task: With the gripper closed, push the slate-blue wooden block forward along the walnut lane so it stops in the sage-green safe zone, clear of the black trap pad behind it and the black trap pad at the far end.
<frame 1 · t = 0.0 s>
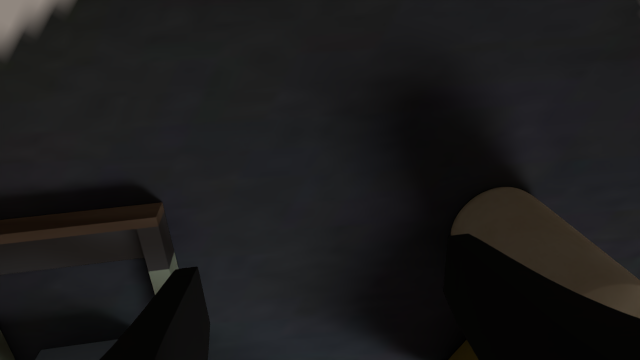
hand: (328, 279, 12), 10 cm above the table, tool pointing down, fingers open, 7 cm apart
candle: (492, 226, 25), on the table
flower pot: (489, 348, 30), on the table
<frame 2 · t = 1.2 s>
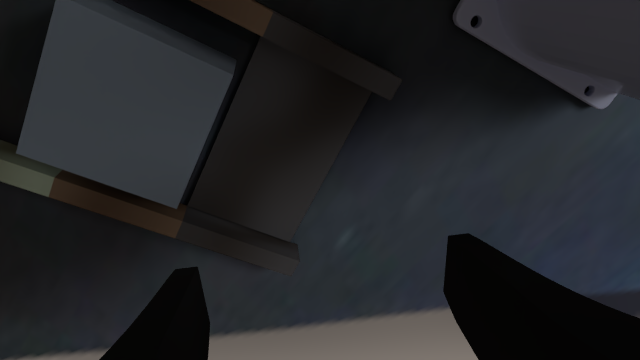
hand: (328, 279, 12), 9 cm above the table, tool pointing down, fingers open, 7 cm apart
block: (146, 91, 19), resting in trap lane
trap lane: (121, 83, 18), on the table
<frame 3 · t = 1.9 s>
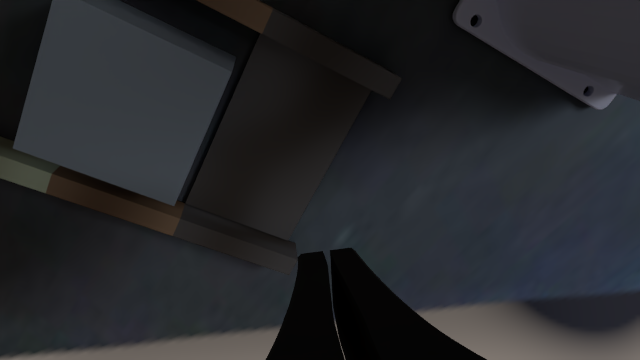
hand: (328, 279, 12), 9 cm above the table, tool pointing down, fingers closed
block: (144, 88, 19), resting in trap lane
trap lane: (119, 79, 18), on the table
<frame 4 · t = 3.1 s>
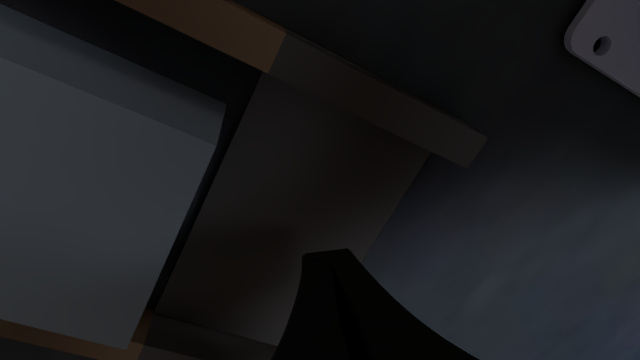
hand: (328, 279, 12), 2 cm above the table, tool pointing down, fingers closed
block: (85, 151, 12), resting in trap lane
trap lane: (42, 141, 12), on the table
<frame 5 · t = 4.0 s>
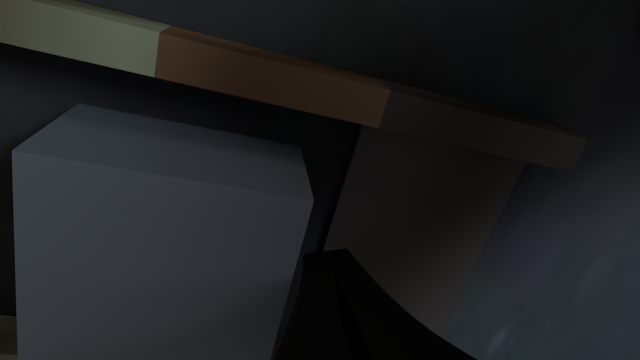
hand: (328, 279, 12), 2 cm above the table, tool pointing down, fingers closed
block: (182, 217, 13), resting in trap lane, touching gripper
trap lane: (182, 219, 13), on the table
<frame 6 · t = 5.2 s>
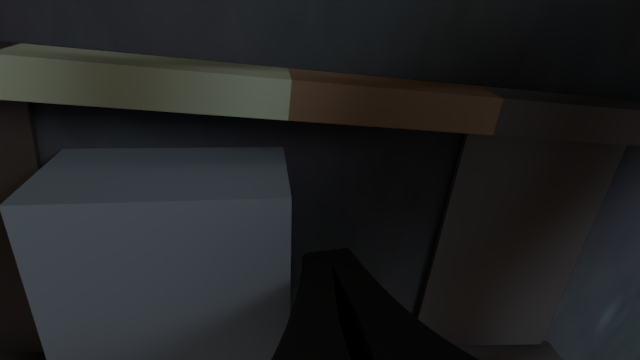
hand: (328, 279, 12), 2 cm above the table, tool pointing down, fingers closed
block: (187, 234, 14), resting in trap lane
trap lane: (304, 242, 14), on the table
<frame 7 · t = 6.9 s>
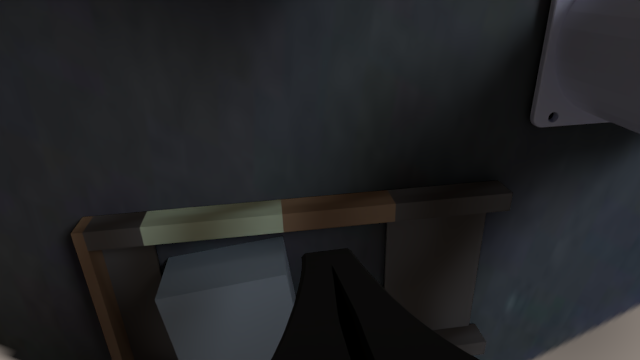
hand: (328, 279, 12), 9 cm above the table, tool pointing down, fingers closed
block: (238, 288, 24), resting in trap lane
trap lane: (305, 284, 24), on the table
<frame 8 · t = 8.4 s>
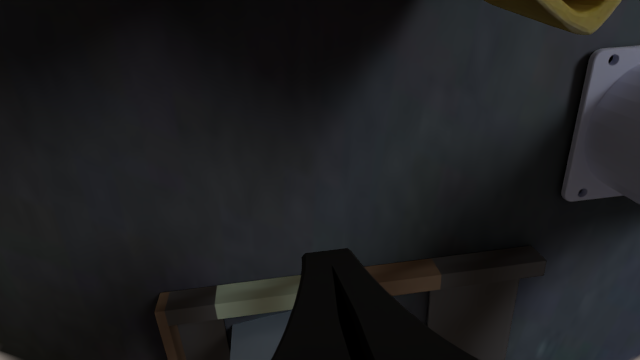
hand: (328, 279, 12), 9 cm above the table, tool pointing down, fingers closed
block: (294, 346, 26), resting in trap lane
trap lane: (355, 341, 26), on the table
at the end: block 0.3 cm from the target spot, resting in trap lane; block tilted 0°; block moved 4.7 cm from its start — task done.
